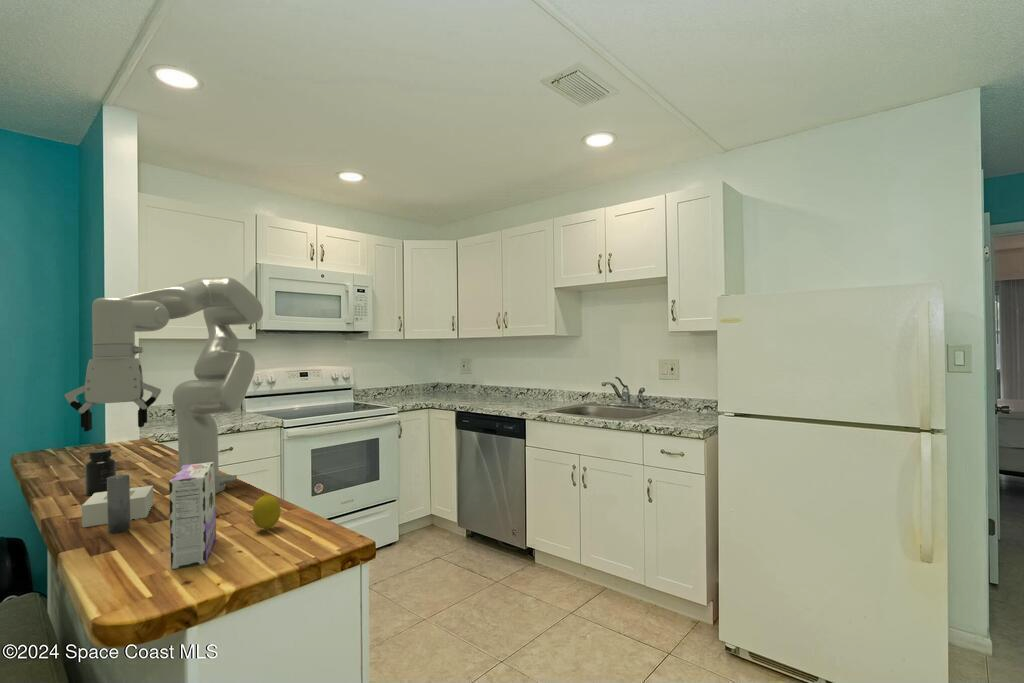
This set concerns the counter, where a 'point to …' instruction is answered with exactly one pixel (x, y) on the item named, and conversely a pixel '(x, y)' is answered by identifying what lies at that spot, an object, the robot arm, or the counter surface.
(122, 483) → the peg
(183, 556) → the candy box
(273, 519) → the lemon
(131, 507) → the socket block
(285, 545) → the counter surface
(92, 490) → the supplement bottle
